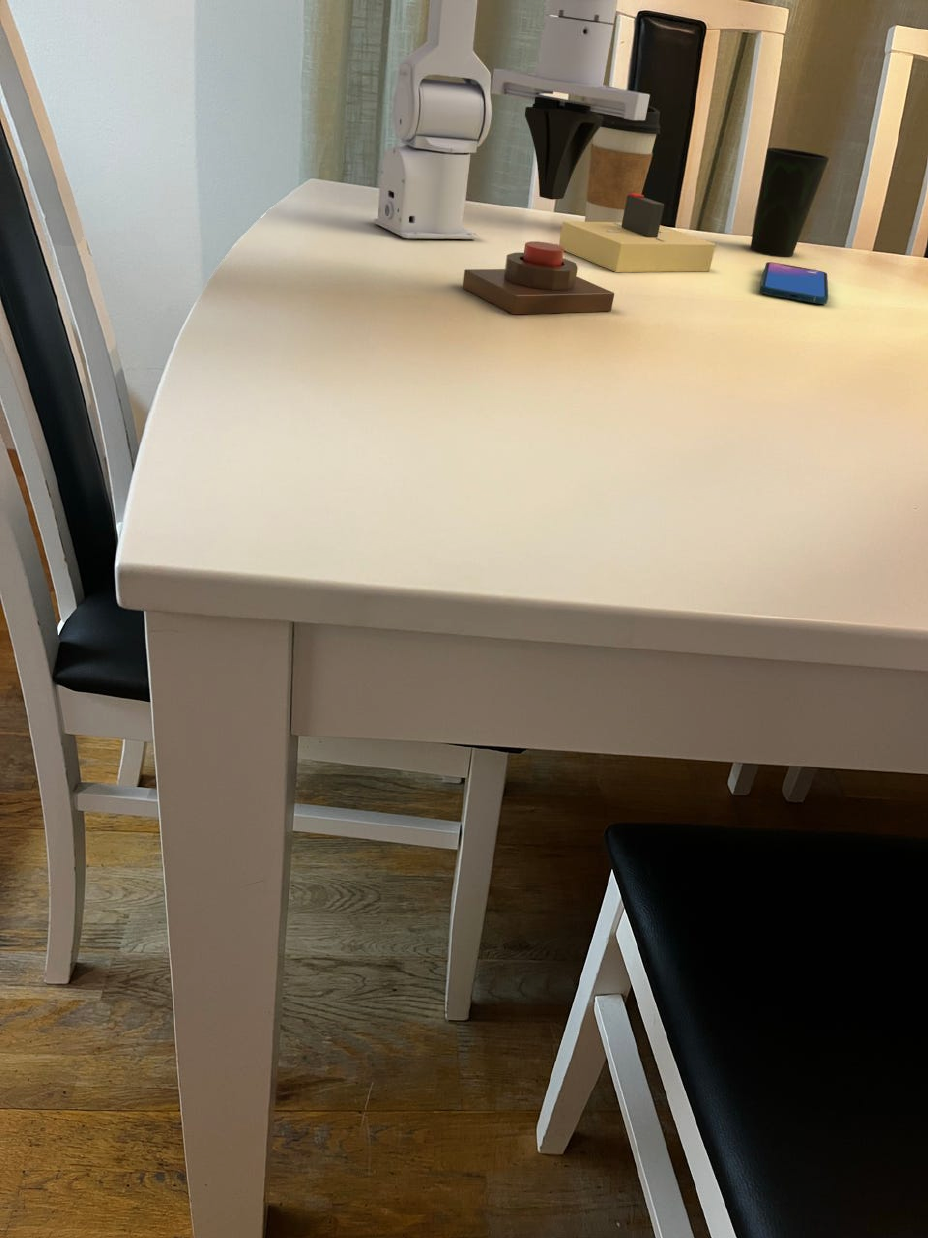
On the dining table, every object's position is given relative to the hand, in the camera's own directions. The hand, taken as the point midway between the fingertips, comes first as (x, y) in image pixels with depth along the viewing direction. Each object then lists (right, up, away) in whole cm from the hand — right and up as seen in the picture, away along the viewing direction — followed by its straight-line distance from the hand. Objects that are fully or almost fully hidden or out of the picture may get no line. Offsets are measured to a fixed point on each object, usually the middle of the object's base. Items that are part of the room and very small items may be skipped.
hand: (551, 197), depth 87 cm
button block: (-1, -8, +4) cm, 9 cm away
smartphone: (+30, 0, +24) cm, 38 cm away
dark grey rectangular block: (+12, +7, +25) cm, 29 cm away
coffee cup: (+11, +12, +39) cm, 42 cm away
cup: (+33, +11, +42) cm, 55 cm away
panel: (+12, +4, +26) cm, 29 cm away
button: (-1, -5, +3) cm, 6 cm away
